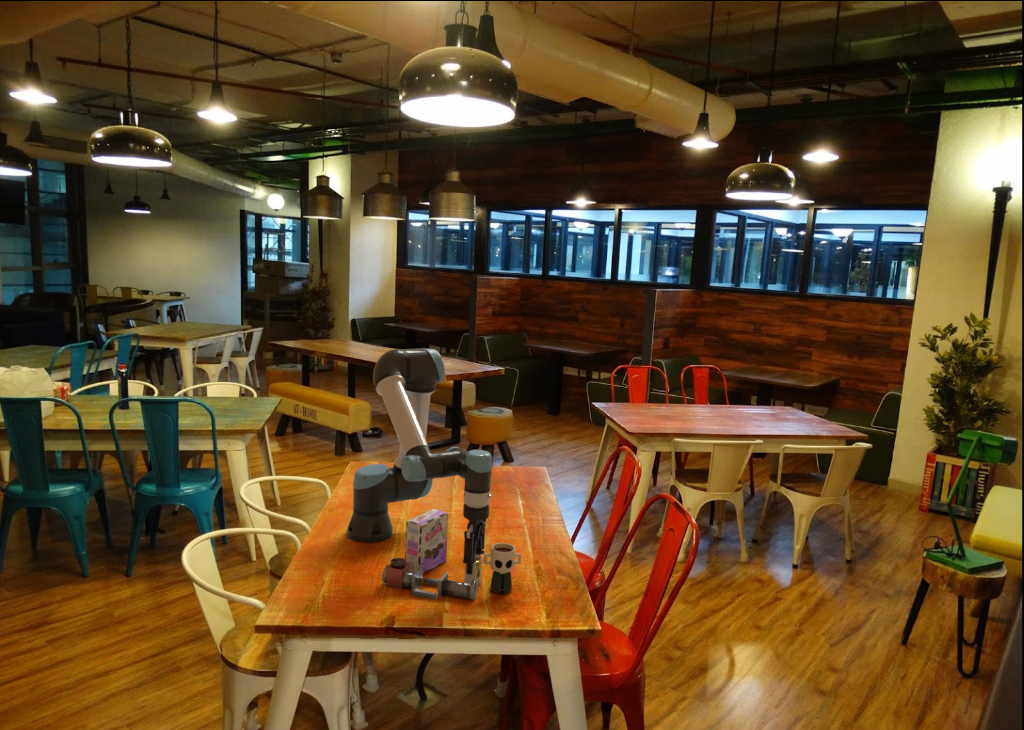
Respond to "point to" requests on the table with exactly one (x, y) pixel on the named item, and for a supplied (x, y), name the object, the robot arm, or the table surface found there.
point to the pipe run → (400, 577)
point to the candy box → (426, 540)
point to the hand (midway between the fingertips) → (472, 579)
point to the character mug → (502, 566)
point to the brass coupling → (477, 571)
